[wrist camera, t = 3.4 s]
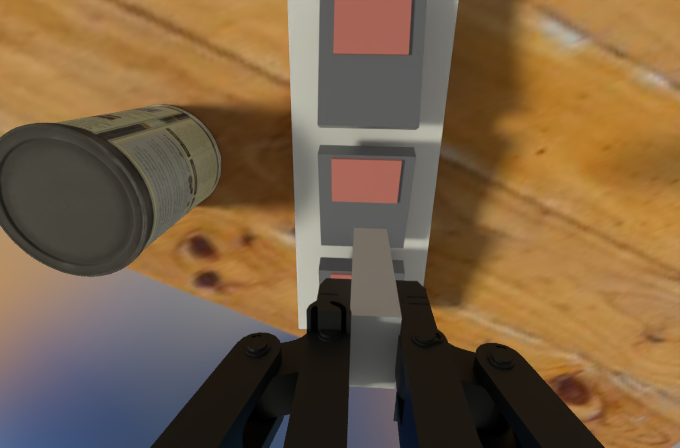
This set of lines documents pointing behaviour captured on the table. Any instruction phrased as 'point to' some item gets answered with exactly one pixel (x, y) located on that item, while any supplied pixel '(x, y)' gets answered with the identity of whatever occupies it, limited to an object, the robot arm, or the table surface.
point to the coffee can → (103, 185)
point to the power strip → (363, 143)
